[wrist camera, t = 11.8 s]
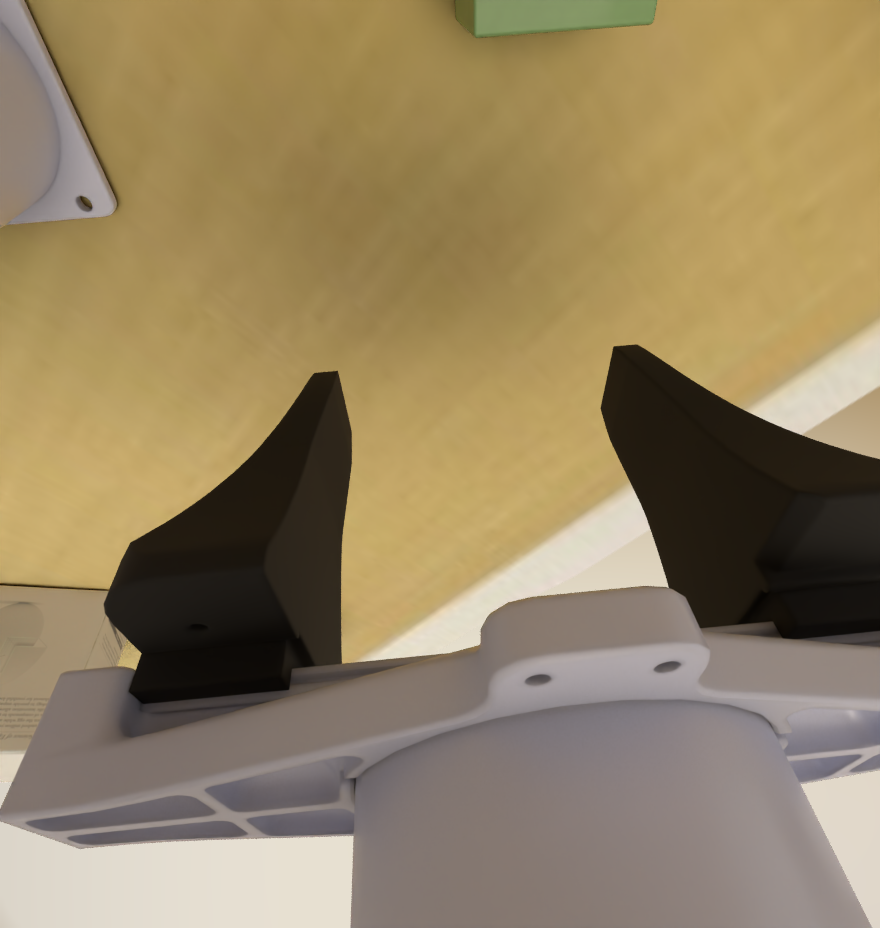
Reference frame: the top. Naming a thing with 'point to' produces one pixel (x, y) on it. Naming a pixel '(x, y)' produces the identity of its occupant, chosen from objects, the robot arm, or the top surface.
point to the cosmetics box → (45, 655)
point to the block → (550, 15)
